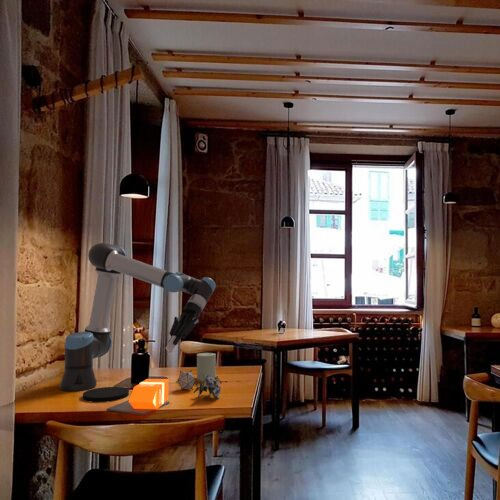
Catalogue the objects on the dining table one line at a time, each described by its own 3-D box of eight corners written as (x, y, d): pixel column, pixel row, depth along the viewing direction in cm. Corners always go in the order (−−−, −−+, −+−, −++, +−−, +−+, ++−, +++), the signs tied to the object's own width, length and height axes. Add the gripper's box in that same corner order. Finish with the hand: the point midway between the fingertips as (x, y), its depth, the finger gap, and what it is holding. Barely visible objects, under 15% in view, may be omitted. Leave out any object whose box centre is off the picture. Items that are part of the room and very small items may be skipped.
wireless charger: (72, 400, 176) (72, 395, 176) (104, 390, 192) (104, 385, 192) (108, 404, 169) (108, 399, 169) (137, 394, 185) (137, 389, 185)
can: (219, 378, 213) (219, 352, 214) (208, 381, 205) (208, 355, 206) (204, 376, 218) (204, 351, 219) (192, 379, 210) (192, 353, 211)
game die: (188, 399, 189) (191, 383, 184) (171, 391, 191) (173, 375, 185) (198, 385, 196) (201, 369, 191) (181, 377, 198) (183, 361, 193)
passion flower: (217, 412, 175) (221, 391, 169) (189, 408, 175) (193, 387, 169) (219, 390, 185) (224, 370, 179) (194, 386, 184) (197, 365, 178)
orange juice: (168, 399, 173) (152, 413, 153) (146, 398, 174) (127, 413, 154) (168, 378, 174) (153, 390, 154) (146, 378, 175) (128, 390, 155)
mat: (107, 410, 161) (107, 408, 161) (134, 399, 175) (134, 397, 175) (144, 415, 154) (144, 413, 154) (169, 403, 169) (169, 401, 169)
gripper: (209, 313, 196) (184, 357, 181) (187, 312, 203) (161, 354, 188) (202, 301, 191) (175, 346, 176) (179, 300, 199) (152, 343, 184)
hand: (168, 350), depth 182 cm, fingers closed
